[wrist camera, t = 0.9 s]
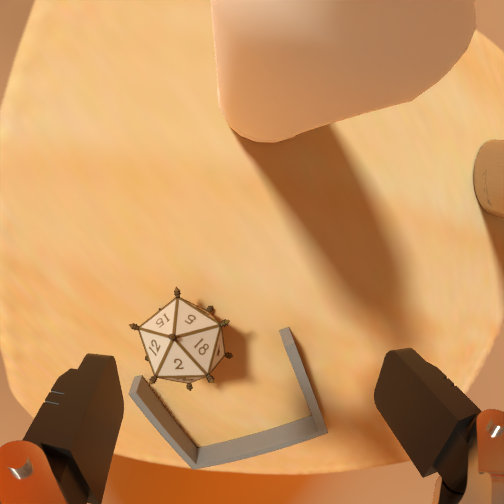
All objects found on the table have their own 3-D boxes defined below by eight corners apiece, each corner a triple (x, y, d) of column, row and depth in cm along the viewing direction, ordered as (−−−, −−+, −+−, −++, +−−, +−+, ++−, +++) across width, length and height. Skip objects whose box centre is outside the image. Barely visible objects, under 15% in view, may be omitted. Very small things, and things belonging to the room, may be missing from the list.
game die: (209, 305, 34) (267, 368, 27) (149, 353, 32) (196, 425, 25) (173, 252, 27) (238, 323, 21) (99, 310, 25) (143, 399, 19)
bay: (288, 327, 31) (294, 342, 28) (322, 416, 36) (328, 432, 33) (134, 377, 32) (128, 394, 29) (194, 453, 36) (193, 469, 33)
